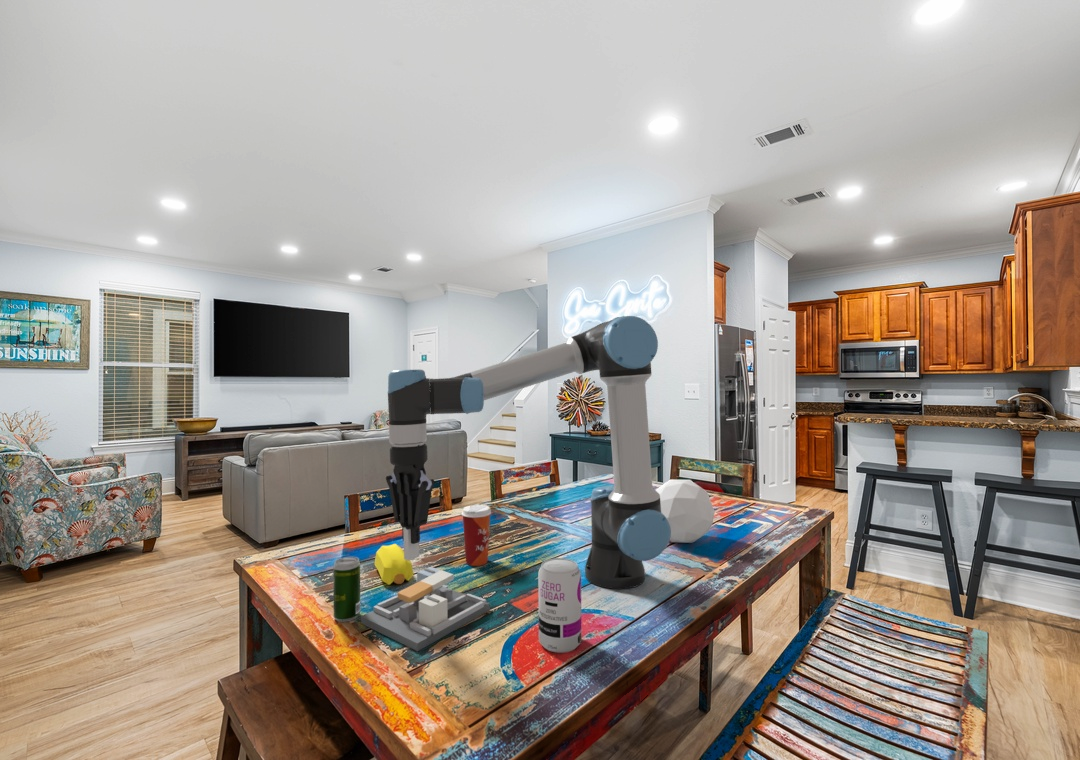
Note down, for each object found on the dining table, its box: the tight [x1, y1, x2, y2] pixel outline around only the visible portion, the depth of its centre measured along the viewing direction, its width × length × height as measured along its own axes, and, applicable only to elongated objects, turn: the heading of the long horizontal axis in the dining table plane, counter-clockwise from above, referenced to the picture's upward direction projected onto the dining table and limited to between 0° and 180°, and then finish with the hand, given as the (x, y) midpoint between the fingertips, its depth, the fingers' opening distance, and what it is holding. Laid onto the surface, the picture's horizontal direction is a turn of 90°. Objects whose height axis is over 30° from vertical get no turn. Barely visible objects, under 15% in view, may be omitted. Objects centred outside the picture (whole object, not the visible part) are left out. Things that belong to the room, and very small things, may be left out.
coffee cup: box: [461, 504, 492, 567], centre depth 135 cm, size 8×8×15 cm
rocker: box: [396, 569, 455, 603], centre depth 104 cm, size 4×12×2 cm, turn 144°
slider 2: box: [419, 594, 448, 629], centre depth 98 cm, size 4×4×5 cm
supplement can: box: [537, 557, 582, 654], centre depth 94 cm, size 8×8×15 cm
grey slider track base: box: [360, 584, 491, 652], centre depth 104 cm, size 18×20×6 cm
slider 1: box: [416, 566, 442, 595], centre depth 113 cm, size 4×4×5 cm
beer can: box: [332, 556, 362, 623], centre depth 105 cm, size 5×5×12 cm
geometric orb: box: [655, 478, 715, 544], centre depth 152 cm, size 19×20×20 cm
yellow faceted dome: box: [374, 543, 414, 586], centre depth 127 cm, size 18×7×8 cm
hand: (411, 557), depth 101 cm, fingers closed
